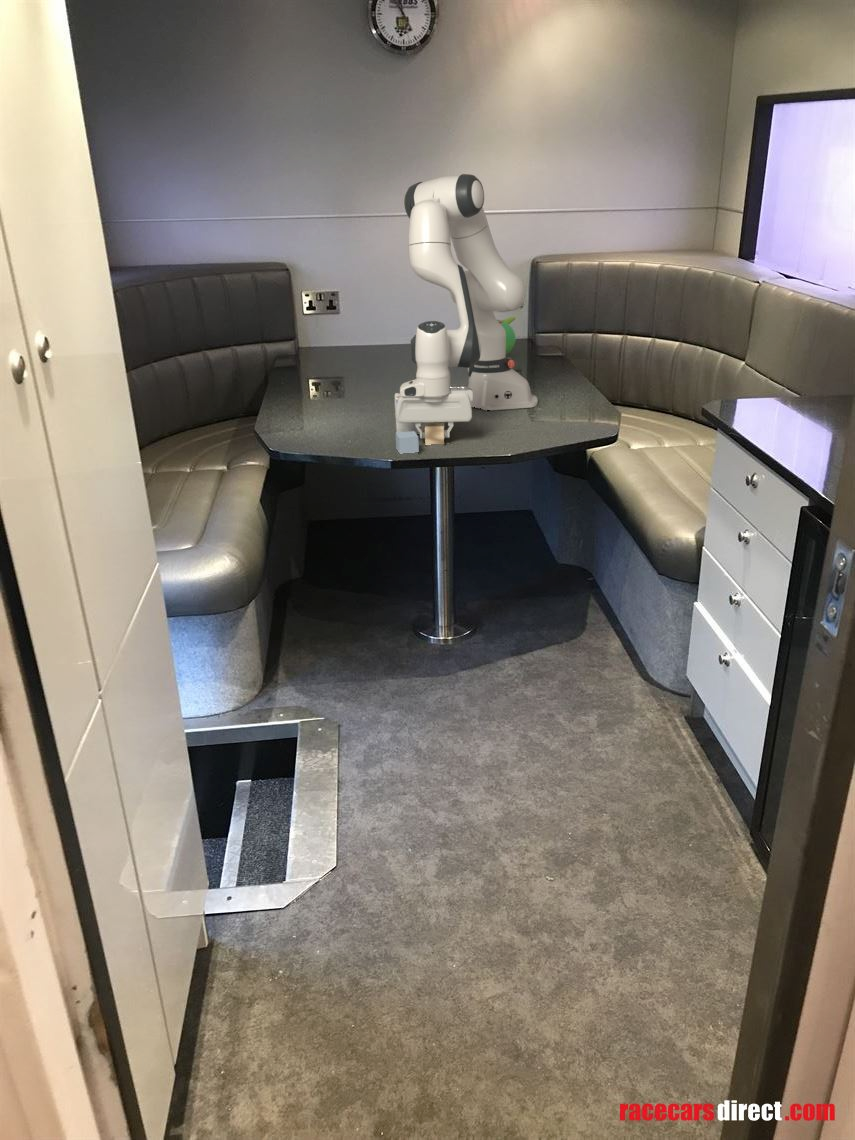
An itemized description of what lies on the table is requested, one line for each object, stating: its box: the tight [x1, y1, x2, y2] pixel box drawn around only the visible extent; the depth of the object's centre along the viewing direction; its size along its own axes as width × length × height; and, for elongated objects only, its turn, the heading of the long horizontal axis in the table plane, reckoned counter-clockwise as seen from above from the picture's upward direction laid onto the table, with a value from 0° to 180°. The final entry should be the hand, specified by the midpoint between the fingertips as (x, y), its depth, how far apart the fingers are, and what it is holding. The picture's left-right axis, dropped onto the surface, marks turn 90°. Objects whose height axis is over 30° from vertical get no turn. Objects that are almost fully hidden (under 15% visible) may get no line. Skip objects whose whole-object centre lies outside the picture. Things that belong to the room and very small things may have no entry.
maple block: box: [424, 422, 445, 445], centre depth 236 cm, size 5×5×5 cm
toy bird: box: [497, 316, 516, 355], centre depth 331 cm, size 18×17×15 cm
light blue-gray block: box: [395, 431, 420, 454], centre depth 229 cm, size 5×5×5 cm
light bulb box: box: [394, 392, 435, 434], centre depth 245 cm, size 11×7×11 cm, turn 92°
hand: (434, 437), depth 236 cm, fingers closed on maple block, 5 cm apart
